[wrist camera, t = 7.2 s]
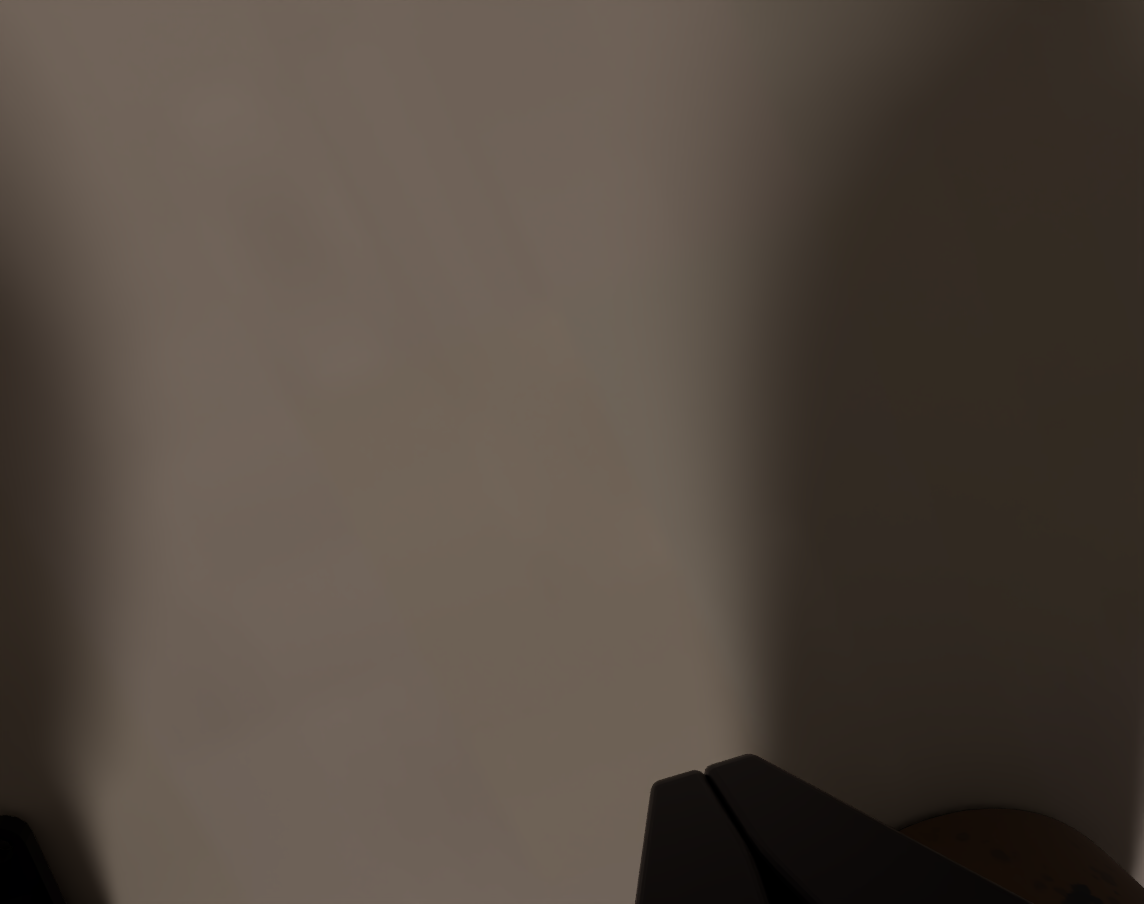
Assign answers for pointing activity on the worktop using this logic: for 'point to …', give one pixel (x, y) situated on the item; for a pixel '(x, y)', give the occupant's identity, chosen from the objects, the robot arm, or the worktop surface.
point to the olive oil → (1029, 856)
